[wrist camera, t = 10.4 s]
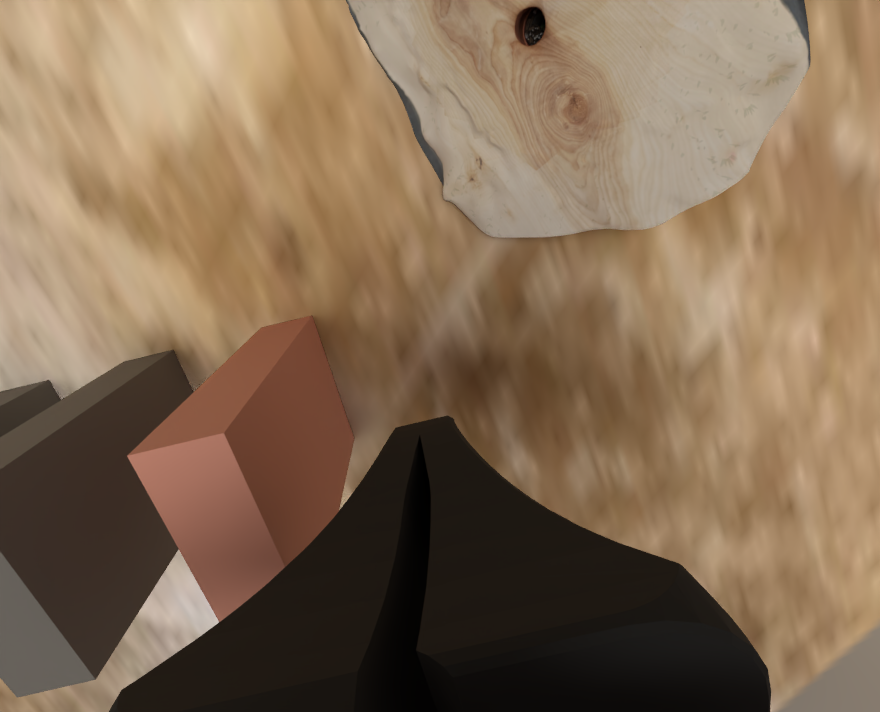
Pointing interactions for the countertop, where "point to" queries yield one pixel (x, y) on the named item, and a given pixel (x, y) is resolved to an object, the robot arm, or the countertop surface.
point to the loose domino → (251, 463)
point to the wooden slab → (587, 101)
